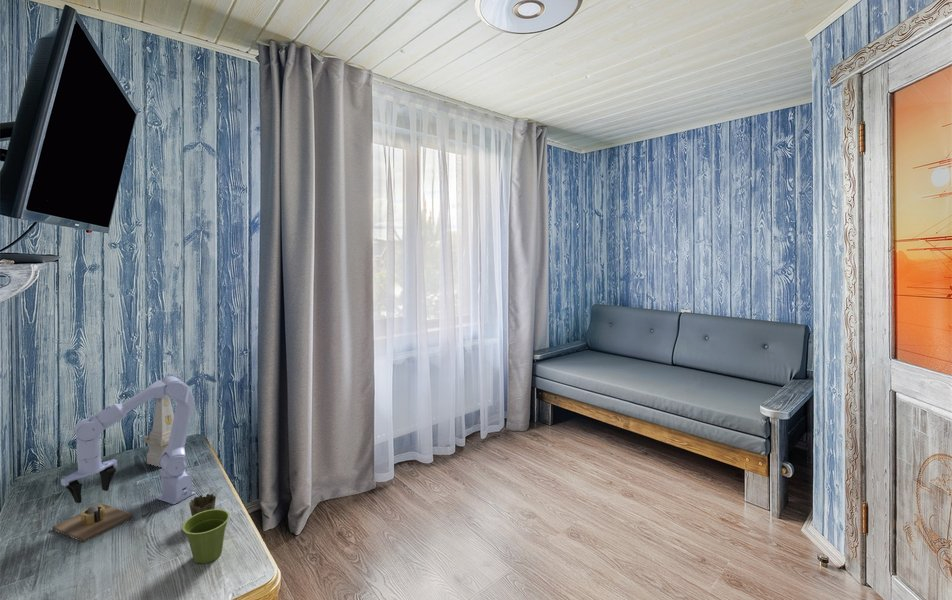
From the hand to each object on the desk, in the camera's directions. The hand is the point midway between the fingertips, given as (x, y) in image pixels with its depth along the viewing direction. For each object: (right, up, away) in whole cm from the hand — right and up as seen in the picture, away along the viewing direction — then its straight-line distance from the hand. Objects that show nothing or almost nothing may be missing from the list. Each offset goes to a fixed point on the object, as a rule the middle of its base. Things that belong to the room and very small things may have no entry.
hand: (92, 496), depth 143 cm
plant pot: (+46, -12, -13) cm, 49 cm away
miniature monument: (-7, -5, +44) cm, 44 cm away
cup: (+35, -10, +3) cm, 36 cm away
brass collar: (0, -8, +1) cm, 8 cm away
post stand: (0, -9, +1) cm, 9 cm away
